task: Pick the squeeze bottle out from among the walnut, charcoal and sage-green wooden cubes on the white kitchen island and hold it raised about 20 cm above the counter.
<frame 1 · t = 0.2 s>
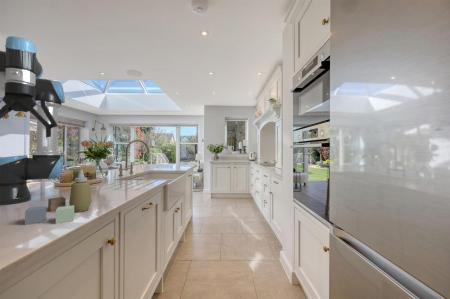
hand: (19, 145, 71), 28 cm above the counter, fingers open, 13 cm apart
sage cube: (65, 221, 78), on the counter
walnut cube: (56, 209, 92), on the counter
charcoal cube: (35, 222, 76), on the counter
squeeze bottle: (80, 211, 91), on the counter
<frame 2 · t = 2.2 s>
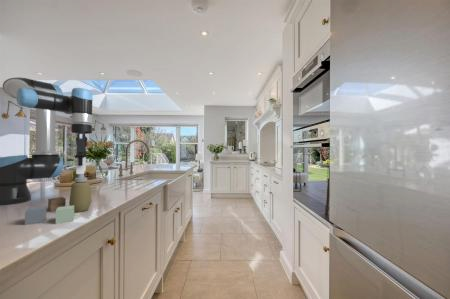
hand: (81, 172, 91), 17 cm above the counter, fingers open, 13 cm apart
nothing on the counter moved.
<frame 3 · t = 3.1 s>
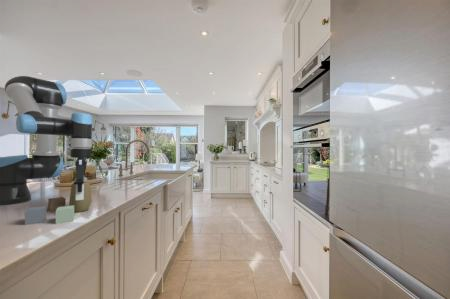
hand: (80, 196, 91), 6 cm above the counter, fingers open, 13 cm apart
nothing on the counter moved.
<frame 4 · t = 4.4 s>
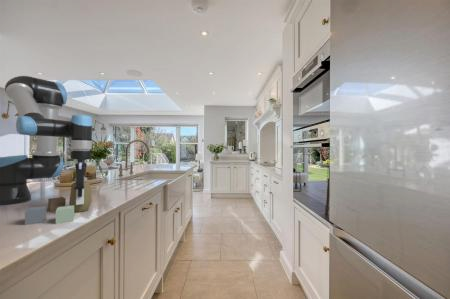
hand: (80, 201, 91), 4 cm above the counter, fingers closed on squeeze bottle, 8 cm apart
squeeze bottle: (80, 211, 91), on the counter, touching gripper
everything else where it was.
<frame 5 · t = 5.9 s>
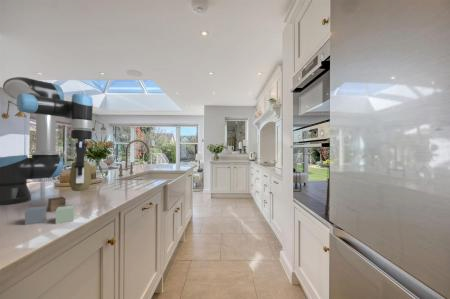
hand: (80, 181, 91), 13 cm above the counter, fingers closed on squeeze bottle, 8 cm apart
squeeze bottle: (80, 190, 91), point 9 cm above the counter, touching gripper
everything else where it was.
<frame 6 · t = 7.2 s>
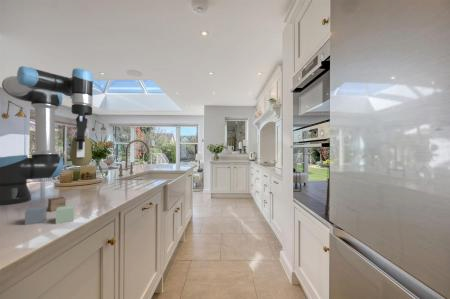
hand: (81, 156, 91), 24 cm above the counter, fingers closed on squeeze bottle, 8 cm apart
squeeze bottle: (81, 165, 91), point 20 cm above the counter, touching gripper
everything else where it was.
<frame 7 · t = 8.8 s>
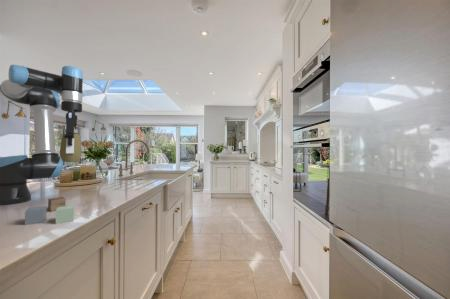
hand: (71, 153, 92), 25 cm above the counter, fingers closed on squeeze bottle, 8 cm apart
squeeze bottle: (70, 162, 92), point 21 cm above the counter, touching gripper
everything else where it was.
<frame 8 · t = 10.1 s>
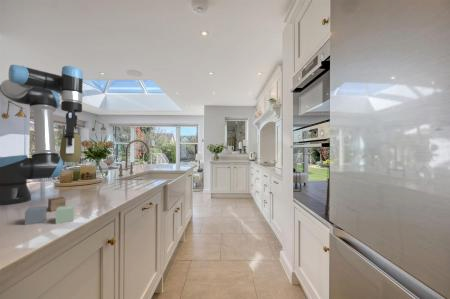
hand: (71, 153, 92), 25 cm above the counter, fingers closed on squeeze bottle, 8 cm apart
squeeze bottle: (70, 162, 92), point 21 cm above the counter, touching gripper
everything else where it was.
at the end: the gripper is holding squeeze bottle; squeeze bottle point 21.2 cm above the counter; sage cube moved 0.1 cm from its start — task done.
